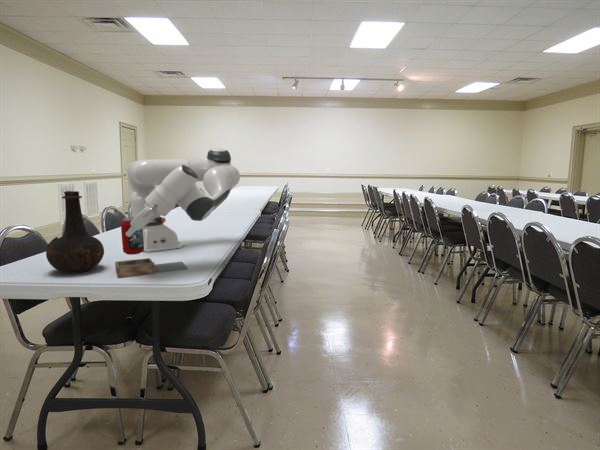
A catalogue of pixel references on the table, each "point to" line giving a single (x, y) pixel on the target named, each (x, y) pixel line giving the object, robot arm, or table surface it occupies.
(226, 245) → the table surface
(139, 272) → the can cradle
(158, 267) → the rubber mat
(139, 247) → the beverage can
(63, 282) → the table surface
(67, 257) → the glass bottle
